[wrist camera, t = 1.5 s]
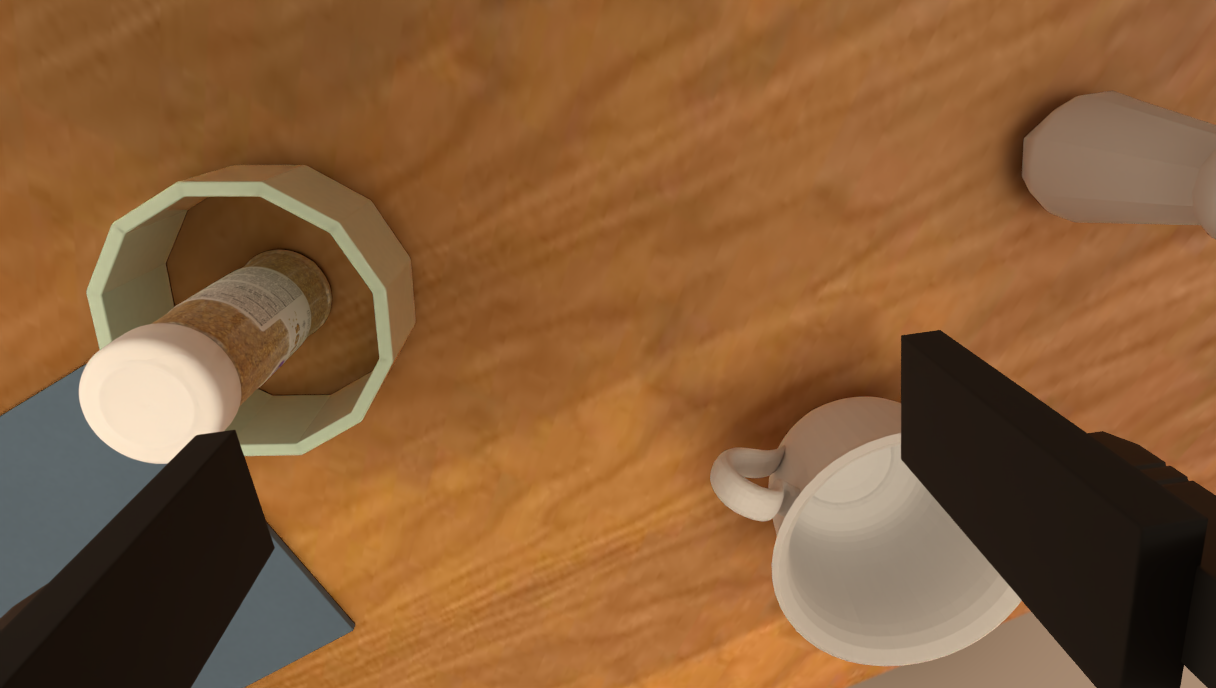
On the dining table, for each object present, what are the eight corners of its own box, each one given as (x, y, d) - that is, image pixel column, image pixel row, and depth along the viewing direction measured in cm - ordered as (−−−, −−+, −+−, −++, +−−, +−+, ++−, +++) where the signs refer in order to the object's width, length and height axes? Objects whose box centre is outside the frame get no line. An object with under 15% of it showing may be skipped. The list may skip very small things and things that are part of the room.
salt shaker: (1063, 232, 39) (1294, 311, 26) (977, 175, 37) (1178, 228, 25) (1144, 129, 37) (1430, 160, 25) (1057, 65, 36) (1314, 65, 23)
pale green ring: (101, 247, 36) (24, 277, 31) (312, 114, 35) (268, 123, 30) (266, 444, 40) (221, 500, 35) (462, 332, 39) (446, 374, 33)
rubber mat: (-156, 510, 40) (-164, 516, 40) (114, 346, 38) (108, 350, 37) (111, 752, 47) (107, 759, 46) (355, 624, 44) (353, 630, 44)
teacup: (732, 296, 39) (786, 370, 29) (983, 386, 41) (1106, 481, 32) (645, 493, 42) (667, 614, 33) (880, 565, 45) (963, 697, 35)
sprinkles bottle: (306, 352, 39) (180, 492, 26) (222, 302, 37) (48, 422, 25) (352, 281, 37) (244, 391, 25) (267, 226, 36) (109, 313, 24)
